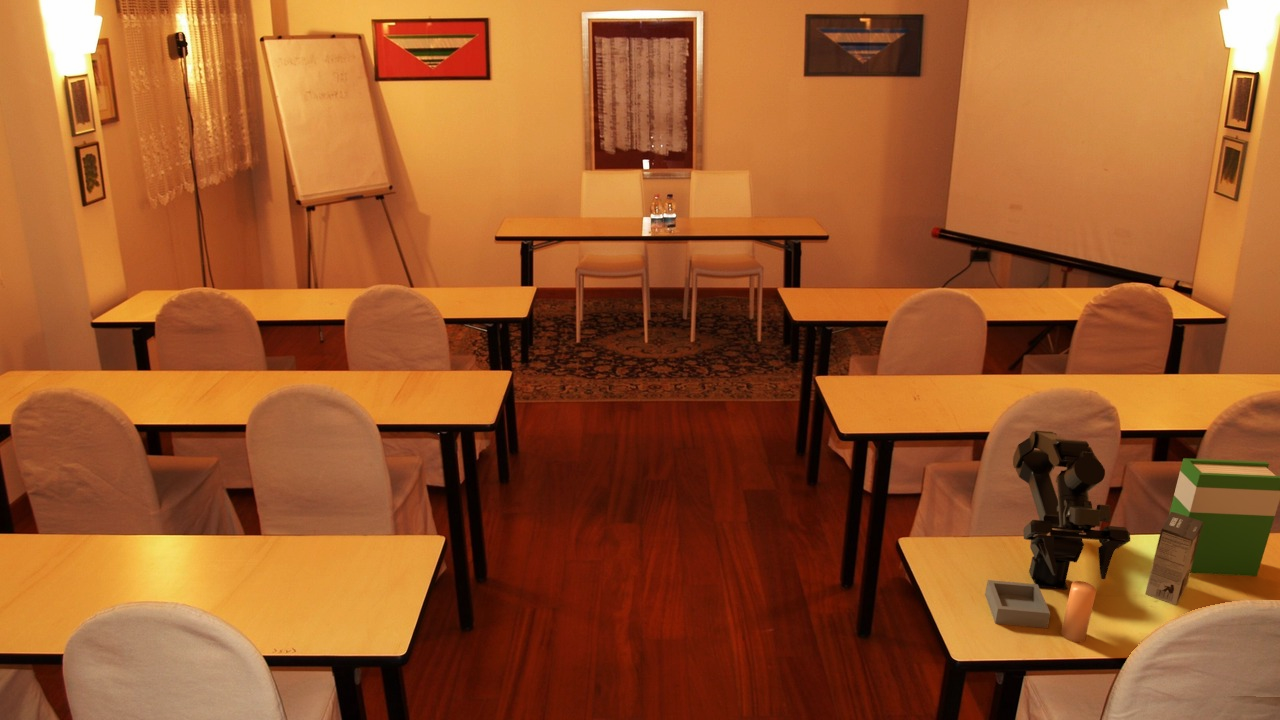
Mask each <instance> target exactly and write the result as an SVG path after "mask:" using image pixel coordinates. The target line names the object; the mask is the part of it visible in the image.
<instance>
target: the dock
mask: <svg viewBox="0 0 1280 720" xmlns="http://www.w3.org/2000/svg"><path fill="white" fill-rule="evenodd" d="M986 581H987V582H986V586H985V587H986V588H985V593H984V595H985V597H986V601H987V604H988V607H989V610H990V612H991V615H992V617H993V620H994V623H995V624H997V625H998V624H999V625H1000V624H1001V625H1008V626H1010V625H1011V626H1020V627H1021V626H1022V627H1028V628H1029V627H1030V628H1039V629H1040V628H1042V629H1048V627H1049V622H1050V616H1051V611H1050V610H1049V607H1048V604H1047V602H1046V600H1045V598H1044V596H1043V592H1042V591H1041V589H1040V588H1041V587H1039V586H1038V584H1035V583H1025V582H1015V581H1005V580H1004V581H1003V580H994V579H993V580H992V579H987V580H986Z"/></svg>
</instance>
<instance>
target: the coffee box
mask: <svg viewBox="0 0 1280 720" xmlns="http://www.w3.org/2000/svg"><path fill="white" fill-rule="evenodd" d="M1169 513H1170V512H1169ZM1169 513H1168V516H1167V518H1166V519H1165V521H1164V523H1163V525H1162V527H1161V530H1160V533H1159V537H1158V542H1157V545H1156V549H1155V554H1154V557H1153V561H1152V566H1151V569H1150V574H1149V576H1148V582H1147V585H1146V590H1145V595H1146V596H1150V597H1153V598H1154V599H1159V600H1161V601H1164V602H1166V603H1169V604H1171V605H1174V606H1177V605H1178V604H1179V602H1180V600H1181V598H1182V597H1183V594H1184V592H1185V591H1186V588H1187V586H1188V583H1189V578H1190V574H1191V573H1190V571H1191V568H1192V564H1193V560H1194V556H1195V552H1196V548H1197V545H1198V541H1199V537H1200V533H1201V529H1202V525H1203V522H1202V521H1199V520H1195V519H1192V518H1190V517H1188V516H1185V515H1181V514H1178V513H1175V512H1171V513H1170V514H1169Z"/></svg>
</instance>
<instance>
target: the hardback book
mask: <svg viewBox="0 0 1280 720" xmlns="http://www.w3.org/2000/svg"><path fill="white" fill-rule="evenodd" d="M1181 462H1182V463H1181V466H1180V470H1179V473H1178V474H1179V475H1178V478H1177V482H1176V484H1175V485H1176V486H1175V491H1174V494H1173V498H1172V501H1171V505H1170V510H1169V513H1168V515H1169V514H1170V513H1171V512H1175V513H1178V514H1181V515H1185V516H1188V517H1190V518H1192V519H1195V520H1199V521H1202V522H1203V525H1202V529H1201V533H1200V537H1199V541H1198V545H1197V548H1196V552H1195V556H1194V560H1193V564H1192V568H1191V571H1190V574H1203V575H1218V576H1219V575H1220V576H1221V575H1223V576H1224V575H1226V576H1239V577H1240V576H1243V577H1258V574H1259V570H1260V567H1261V563H1262V561H1263V557H1264V555H1265V554H1264V553H1265V550H1266V547H1267V544H1268V540H1269V537H1270V534H1271V530H1272V528H1273V524H1274V521H1275V517H1276V513H1277V511H1278V507H1279V504H1280V475H1277V474H1274V473H1273V472H1272V471H1271V470H1270V469H1269V467H1270V464H1269V463H1268V461H1255V460H1253V461H1251V460H1249V461H1248V460H1230V459H1227V460H1226V459H1211V458H1210V459H1206V458H1205V459H1204V458H1187V457H1185V458H1183V459H1182V461H1181Z"/></svg>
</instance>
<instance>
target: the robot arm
mask: <svg viewBox="0 0 1280 720" xmlns="http://www.w3.org/2000/svg"><path fill="white" fill-rule="evenodd" d="M1012 457H1013V458H1012V467H1013V468H1014V469H1015V471H1016V474H1017V475H1018V478H1019V479H1021V481H1022V480H1023V481H1024V482H1025V483H1027V484H1028V486H1029V489H1030V492H1031V496H1032V499H1033V502H1034V505H1035V509H1036V511H1037V515H1038V518H1039V519H1032V520H1031V521H1030V522H1029V523H1027V524H1026V525H1025V526H1024V527H1023V539H1024V540H1026V541H1028V540H1029V541H1030V551H1031V553H1032V557H1031V561H1030V567H1029V569H1028V573H1029V575H1030V578H1031V579H1032V580H1033V582H1034V583H1033V584H1038V586H1039V588H1044V589H1045V588H1046V589H1048V588H1049V589H1057V590H1058V589H1059V590H1060V589H1061V590H1068V589H1069V586H1068V584H1067V578H1068V574H1069V569H1070V568H1069V567H1070V563H1071V562H1072V563H1078V560H1079V559H1080V556H1081V554H1082V552H1083V549H1084V546H1085V544H1084V540H1094V541H1096V540H1097V541H1098V543H1100V544H1101V545H1100V546H1098V548H1097V549H1098V561H1099V562H1098V563H1099V574H1100V578H1101V580H1105V579H1106V578H1107V574H1108V570H1109V567H1110V565H1111V564H1110V563H1111V561H1112V557H1113V555H1114V553H1115V551H1116V550H1118V549H1119V548H1121V547H1123V546H1125V545H1127V544H1128V543H1129V542H1131V532H1130V531H1129V530H1128V529H1127V527H1126V526H1125V527H1124V526H1116V525H1115V526H1114V525H1107V526H1105V527H1104V528H1103V529H1101V530H1098V529H1097V530H1096V529H1093V528H1096V527H1099V528H1100V527H1101V525H1102V522H1105V523H1110V521H1111V518H1112V517H1111V515H1112V514H1111V506H1110V505H1108V504H1097V505H1096V508H1093V504H1092V501H1091V500H1090V496H1089V492H1090V491H1091V490H1092V489H1094V488H1095V487H1097V486H1098V485H1099V484H1101V482H1102V481H1103V480H1104V478H1105V476H1106V469H1105V467H1104V465H1103V464H1102V463H1101V462H1100V460H1099V459H1098V457H1097V456H1096V454H1095V453H1094V451H1093V449H1092V447H1091V446H1090V444H1089V442H1088V441H1087V440H1081V439H1066V438H1064V437H1062V436H1060V435H1058V434H1057V433H1056V432H1054V431H1050V430H1048V431H1046V430H1033V431H1031V432H1030V435H1029V437H1028V438H1026V439H1025V440H1023V441H1022V442H1020V443H1019V444H1017V446H1016V449H1015V451H1014V454H1013V456H1012ZM1055 467H1058V468H1059V467H1061V468H1066V469H1063V470H1060V472H1059V474H1058V475H1057V476H1056V478H1055V483H1056V488H1055V486H1054V483H1053V480H1052V478H1051V477H1052V475H1053V474H1052V473H1053V471H1054V469H1055ZM1055 489H1057V492H1056V490H1055ZM1083 539H1084V540H1083Z"/></svg>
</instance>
